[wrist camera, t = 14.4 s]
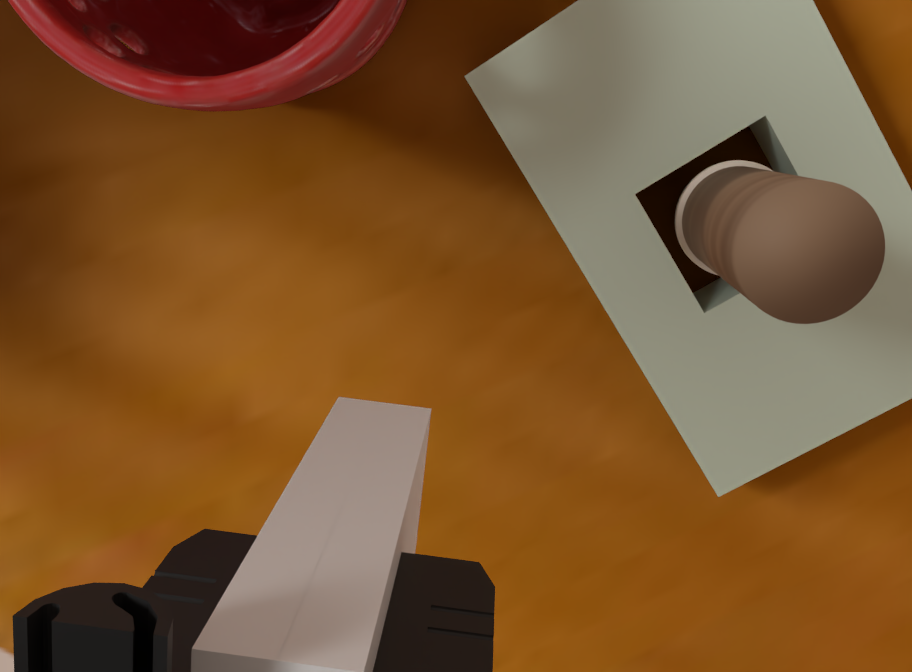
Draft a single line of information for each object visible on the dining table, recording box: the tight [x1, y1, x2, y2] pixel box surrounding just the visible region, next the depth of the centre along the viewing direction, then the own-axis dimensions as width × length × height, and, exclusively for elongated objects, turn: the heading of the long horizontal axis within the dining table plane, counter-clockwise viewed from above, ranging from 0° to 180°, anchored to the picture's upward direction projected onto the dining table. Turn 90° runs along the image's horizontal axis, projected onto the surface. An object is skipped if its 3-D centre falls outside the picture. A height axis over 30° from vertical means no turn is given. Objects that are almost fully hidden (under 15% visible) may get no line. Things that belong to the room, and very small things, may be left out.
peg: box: [674, 160, 885, 324], centre depth 30 cm, size 4×4×13 cm
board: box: [464, 0, 912, 497], centre depth 35 cm, size 20×12×4 cm, turn 32°
